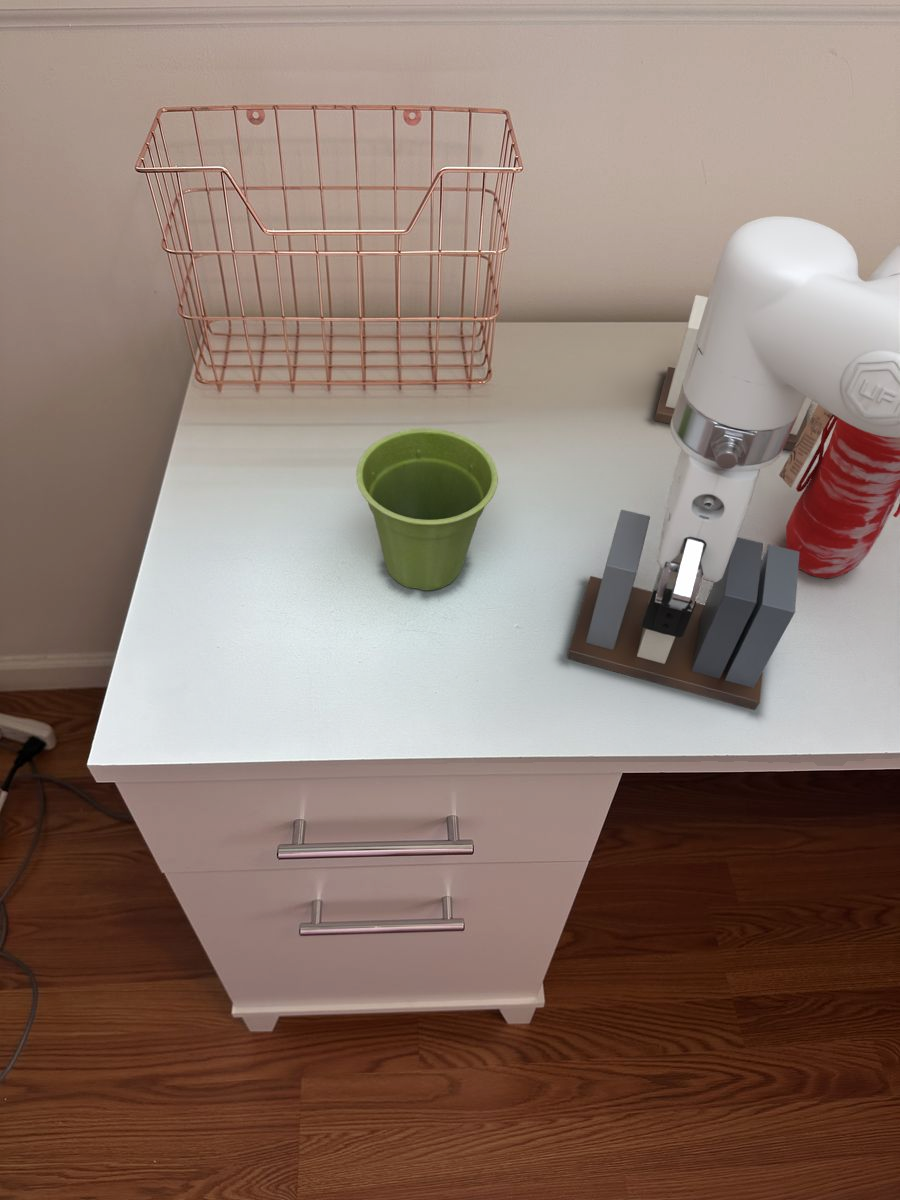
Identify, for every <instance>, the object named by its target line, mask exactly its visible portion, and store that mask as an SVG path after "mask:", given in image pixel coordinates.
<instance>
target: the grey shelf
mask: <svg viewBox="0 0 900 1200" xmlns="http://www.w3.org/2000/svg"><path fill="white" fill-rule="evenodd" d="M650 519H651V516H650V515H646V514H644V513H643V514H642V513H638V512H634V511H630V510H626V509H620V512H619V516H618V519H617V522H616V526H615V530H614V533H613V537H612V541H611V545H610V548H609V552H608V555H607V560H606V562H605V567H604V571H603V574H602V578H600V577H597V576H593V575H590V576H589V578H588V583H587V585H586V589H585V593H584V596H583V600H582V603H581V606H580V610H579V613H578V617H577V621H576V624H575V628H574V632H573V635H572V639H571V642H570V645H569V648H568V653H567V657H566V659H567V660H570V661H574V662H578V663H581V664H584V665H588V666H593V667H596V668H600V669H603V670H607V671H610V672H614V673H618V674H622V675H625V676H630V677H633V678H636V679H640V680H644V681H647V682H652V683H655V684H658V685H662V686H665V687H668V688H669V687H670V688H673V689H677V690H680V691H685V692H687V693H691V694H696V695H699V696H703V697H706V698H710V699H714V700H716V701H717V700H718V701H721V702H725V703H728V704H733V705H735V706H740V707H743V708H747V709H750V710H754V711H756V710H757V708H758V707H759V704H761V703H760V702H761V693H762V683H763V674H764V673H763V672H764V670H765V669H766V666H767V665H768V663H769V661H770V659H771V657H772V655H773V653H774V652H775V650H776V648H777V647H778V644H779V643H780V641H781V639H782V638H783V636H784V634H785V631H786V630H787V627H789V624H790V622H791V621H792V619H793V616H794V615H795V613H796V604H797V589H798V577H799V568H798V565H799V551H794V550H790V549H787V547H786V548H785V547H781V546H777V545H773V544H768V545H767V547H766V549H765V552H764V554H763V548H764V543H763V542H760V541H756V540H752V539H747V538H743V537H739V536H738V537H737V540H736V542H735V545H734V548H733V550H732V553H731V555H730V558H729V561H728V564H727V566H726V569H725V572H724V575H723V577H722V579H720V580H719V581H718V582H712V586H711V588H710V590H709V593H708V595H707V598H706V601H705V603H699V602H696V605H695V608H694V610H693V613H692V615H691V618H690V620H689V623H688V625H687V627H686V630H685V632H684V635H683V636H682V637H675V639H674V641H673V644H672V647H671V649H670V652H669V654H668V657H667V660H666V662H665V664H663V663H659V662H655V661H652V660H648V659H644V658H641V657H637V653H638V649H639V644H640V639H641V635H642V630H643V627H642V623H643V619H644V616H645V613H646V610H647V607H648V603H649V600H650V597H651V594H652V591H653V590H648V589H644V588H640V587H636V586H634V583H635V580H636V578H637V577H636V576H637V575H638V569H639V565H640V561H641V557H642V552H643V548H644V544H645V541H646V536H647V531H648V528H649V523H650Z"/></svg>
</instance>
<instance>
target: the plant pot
mask: <svg viewBox="0 0 900 1200" xmlns="http://www.w3.org/2000/svg"><path fill="white" fill-rule="evenodd" d="M355 474H356V475H355V476H356V484H357V487H358V490H359V491H360V493H361V495H362V496H363V498H364V499H365V501H366V502H367V505H368V507H369V509H370V512H371V513H372V516H373V519H374V522H375V526H376V531H377V535H378V539H379V543H380V547H381V551H382V556H383V559H384V563H385V566H386V569H387V571H388V574H389V575H390V576H391V578H392V579H393V580H394V581H396V582H397V583H399V584H400V585H402V586H403V587H406V588H410V589H419V590H422V591H434V590H438V589H441V588H444V587H446V586H448V585H450V584H451V583H453V582H454V581H455V580H456V579H457V578H458V577H459V575H460V574H461V572H462V569H463V566H464V564H465V561H466V557H467V554H468V552H469V548H470V545H471V543H472V539H473V536H474V533H475V530H476V527H477V524H478V521H479V518H480V517H481V516H482V514H483V512H484V510H485V507H486V506H487V505H488V504H489V503H490V502H491V500H492V499H493V497H494V495H495V493H496V491H497V488H498V484H499V475H498V469H497V465H496V464H495V461H494V460H493V458H492V456H491V455H490V454H489V453H488V452H487V451H486V449H484V448H483V447H482V446H481V445H480V444H479V443H477V442H475V441H474V440H472V439H470V438H468V437H466V436H464V435H463V434H460V433H456V432H453V431H449V430H445V429H440V428H428V427H424V428H423V427H421V428H409V429H404V430H400V431H397V432H393V433H391V434H388V435H386V436H383V437H382V438H380V439H378V440H376V441H375V442H374V443H372V444H371V445H370V446H369V447H368V448H367V449H366V450H365V451H364V452H363V453H362V456H361V457H360V459H359V461H358V463H357V467H356V473H355Z"/></svg>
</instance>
